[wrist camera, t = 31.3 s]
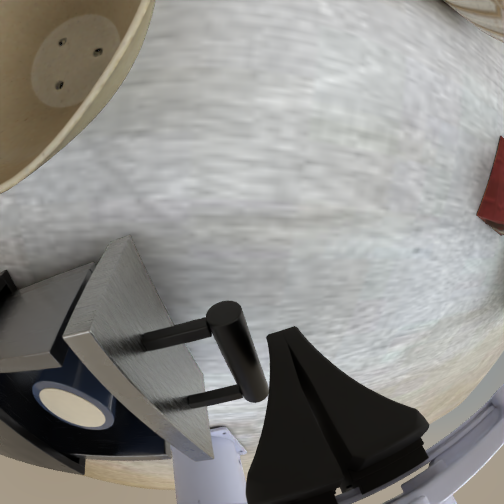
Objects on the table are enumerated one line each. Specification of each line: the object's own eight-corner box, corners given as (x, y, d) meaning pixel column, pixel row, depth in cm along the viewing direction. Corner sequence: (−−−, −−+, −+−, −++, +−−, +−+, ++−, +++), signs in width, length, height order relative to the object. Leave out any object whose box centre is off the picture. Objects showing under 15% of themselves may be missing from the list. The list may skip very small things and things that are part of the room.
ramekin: (136, 368, 15) (131, 429, 11) (81, 376, 14) (69, 430, 11) (96, 312, 12) (75, 379, 9) (40, 327, 12) (15, 383, 8)
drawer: (213, 207, 12) (233, 292, 7) (260, 359, 18) (287, 442, 12) (-17, 294, 11) (-60, 358, 5) (64, 394, 17) (52, 458, 11)
